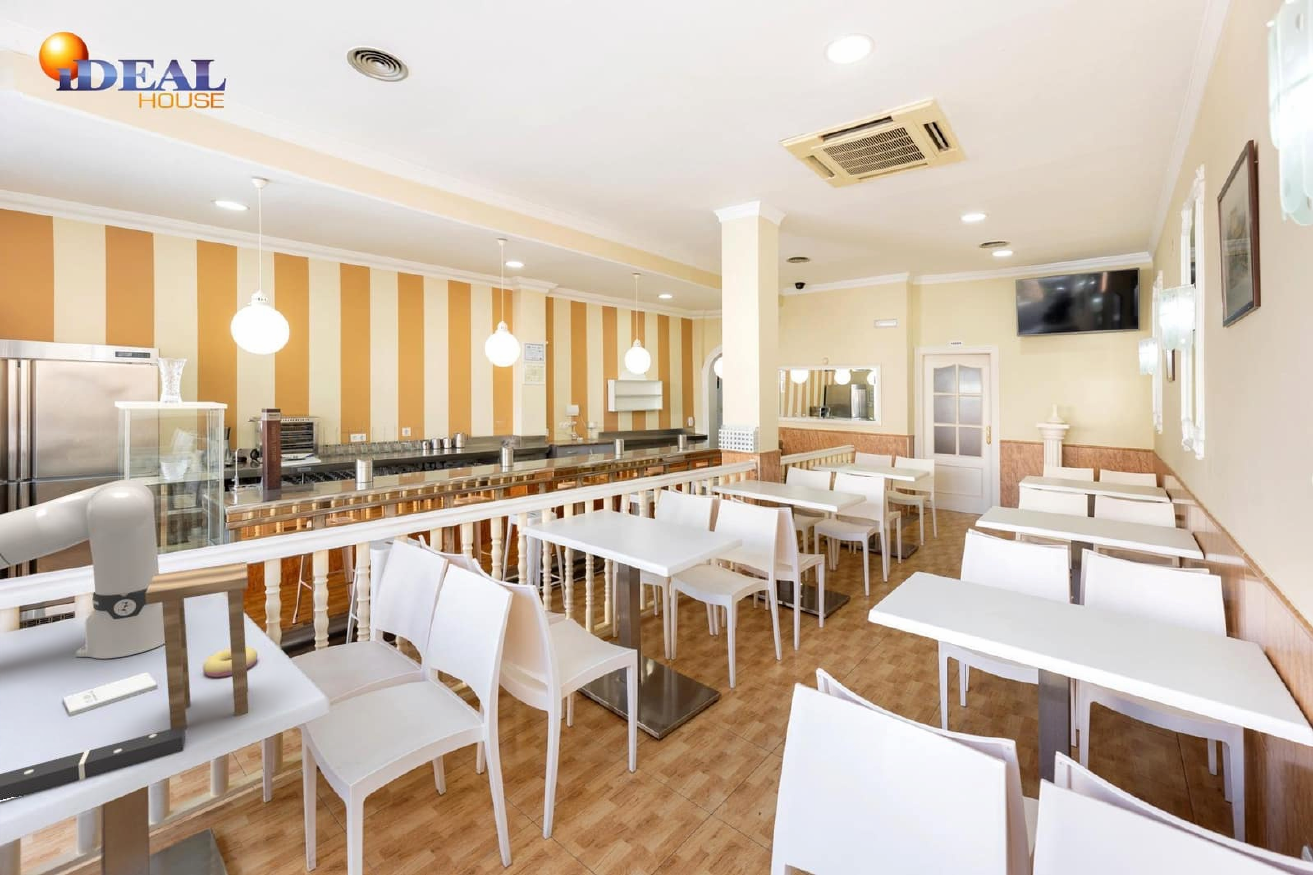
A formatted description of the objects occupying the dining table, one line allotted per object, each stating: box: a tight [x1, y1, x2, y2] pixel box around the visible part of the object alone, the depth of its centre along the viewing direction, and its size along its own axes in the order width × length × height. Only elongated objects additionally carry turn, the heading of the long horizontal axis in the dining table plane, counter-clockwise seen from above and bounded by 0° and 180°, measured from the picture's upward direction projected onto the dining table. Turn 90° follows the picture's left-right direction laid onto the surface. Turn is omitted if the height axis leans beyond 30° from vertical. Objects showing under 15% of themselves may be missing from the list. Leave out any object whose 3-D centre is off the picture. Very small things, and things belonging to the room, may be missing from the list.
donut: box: [202, 646, 258, 678], centre depth 122 cm, size 10×5×9 cm
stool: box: [145, 561, 249, 730], centre depth 105 cm, size 12×14×26 cm
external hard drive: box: [61, 671, 158, 717], centre depth 111 cm, size 2×8×12 cm
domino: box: [0, 725, 186, 800], centre depth 88 cm, size 4×24×3 cm, turn 126°
